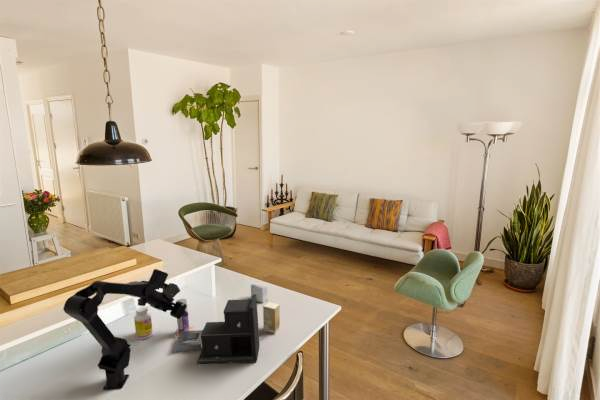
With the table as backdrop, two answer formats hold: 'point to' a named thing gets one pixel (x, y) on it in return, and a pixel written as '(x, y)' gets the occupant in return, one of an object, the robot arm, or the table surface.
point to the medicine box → (259, 291)
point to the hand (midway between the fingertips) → (180, 312)
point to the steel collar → (189, 346)
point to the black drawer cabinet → (232, 335)
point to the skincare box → (271, 317)
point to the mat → (178, 333)
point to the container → (183, 320)
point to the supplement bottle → (143, 323)
